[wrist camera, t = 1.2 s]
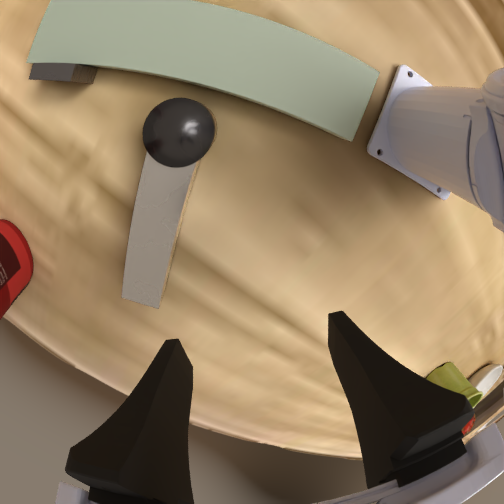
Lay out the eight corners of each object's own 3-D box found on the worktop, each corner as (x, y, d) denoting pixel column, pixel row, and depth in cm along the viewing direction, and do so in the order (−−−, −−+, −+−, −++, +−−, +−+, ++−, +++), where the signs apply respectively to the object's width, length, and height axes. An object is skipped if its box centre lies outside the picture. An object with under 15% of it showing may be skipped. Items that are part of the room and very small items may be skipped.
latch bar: (167, 94, 15) (154, 90, 12) (225, 109, 16) (223, 108, 13) (126, 275, 21) (114, 298, 19) (171, 288, 22) (163, 314, 19)
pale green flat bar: (366, 74, 15) (379, 72, 13) (340, 138, 18) (352, 141, 16) (64, 5, 10) (51, -1, 8) (40, 64, 12) (26, 62, 11)
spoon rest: (489, 351, 35) (506, 376, 29) (500, 359, 39) (514, 380, 32) (407, 424, 44) (417, 449, 38) (428, 423, 48) (438, 444, 41)
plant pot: (404, 392, 35) (422, 434, 27) (443, 352, 31) (469, 395, 24) (433, 391, 37) (451, 426, 30) (467, 355, 33) (490, 391, 26)
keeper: (97, 68, 14) (75, 63, 11) (92, 83, 14) (70, 81, 11) (57, 65, 13) (33, 62, 10) (53, 80, 13) (28, 79, 11)
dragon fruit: (470, 398, 49) (434, 418, 54) (475, 407, 42) (435, 428, 47) (476, 421, 46) (440, 439, 50) (481, 431, 39) (441, 452, 43)
